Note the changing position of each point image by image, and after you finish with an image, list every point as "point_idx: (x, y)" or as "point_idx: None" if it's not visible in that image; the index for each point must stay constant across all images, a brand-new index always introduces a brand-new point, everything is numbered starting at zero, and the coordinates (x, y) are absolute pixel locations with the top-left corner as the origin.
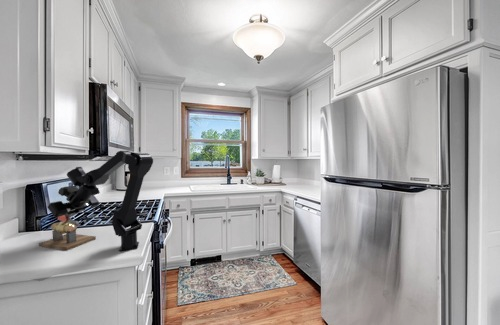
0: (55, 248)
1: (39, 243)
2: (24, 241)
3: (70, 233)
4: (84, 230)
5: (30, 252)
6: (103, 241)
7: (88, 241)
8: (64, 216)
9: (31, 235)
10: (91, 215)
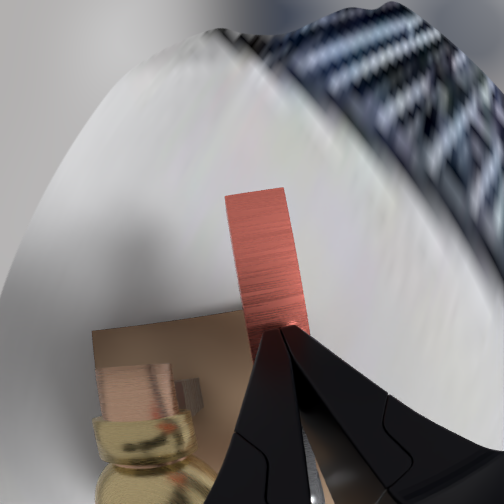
0: None
1: (92, 335)
2: (128, 153)
3: None
4: (407, 266)
5: (47, 385)
6: None
7: None
8: (270, 295)
9: (197, 89)
10: (466, 68)
